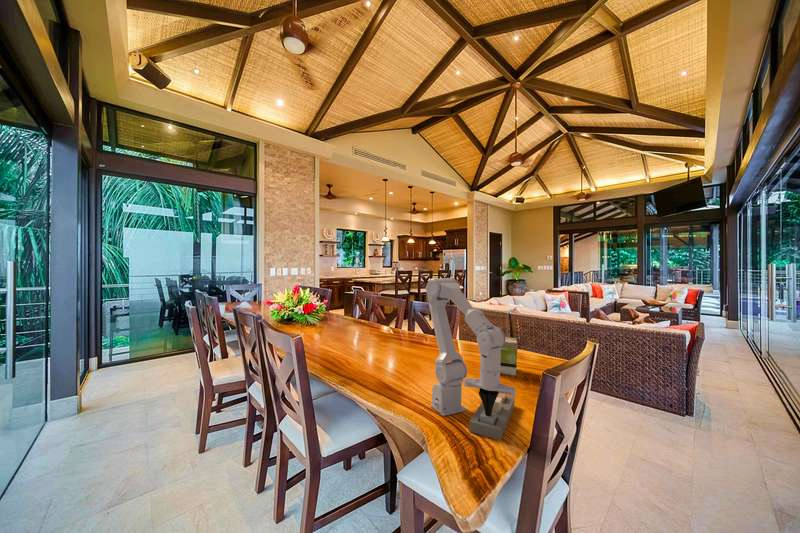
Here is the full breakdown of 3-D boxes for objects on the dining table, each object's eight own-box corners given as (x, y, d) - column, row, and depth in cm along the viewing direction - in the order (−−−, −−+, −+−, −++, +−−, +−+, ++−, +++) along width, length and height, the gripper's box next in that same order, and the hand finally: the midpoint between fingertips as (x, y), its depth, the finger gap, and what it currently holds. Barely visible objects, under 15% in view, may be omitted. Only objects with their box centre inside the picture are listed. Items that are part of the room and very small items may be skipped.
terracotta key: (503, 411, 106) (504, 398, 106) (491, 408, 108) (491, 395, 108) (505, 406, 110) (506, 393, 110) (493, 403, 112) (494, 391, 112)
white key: (499, 416, 99) (499, 402, 99) (486, 413, 101) (486, 399, 101) (501, 411, 103) (502, 398, 103) (488, 408, 105) (489, 395, 105)
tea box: (481, 371, 144) (482, 339, 143) (482, 364, 153) (483, 334, 153) (516, 376, 139) (517, 342, 139) (515, 368, 149) (516, 337, 148)
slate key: (493, 434, 92) (493, 418, 92) (479, 430, 94) (480, 415, 94) (496, 427, 96) (496, 413, 96) (482, 424, 98) (483, 409, 98)
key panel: (500, 440, 89) (501, 430, 89) (469, 431, 94) (469, 421, 94) (514, 406, 111) (514, 397, 111) (488, 400, 115) (488, 391, 115)
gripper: (517, 369, 95) (516, 415, 95) (469, 361, 101) (468, 403, 102) (514, 377, 88) (512, 425, 89) (462, 367, 95) (461, 412, 96)
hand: (488, 414), depth 95 cm, fingers closed, pressing on slate key
